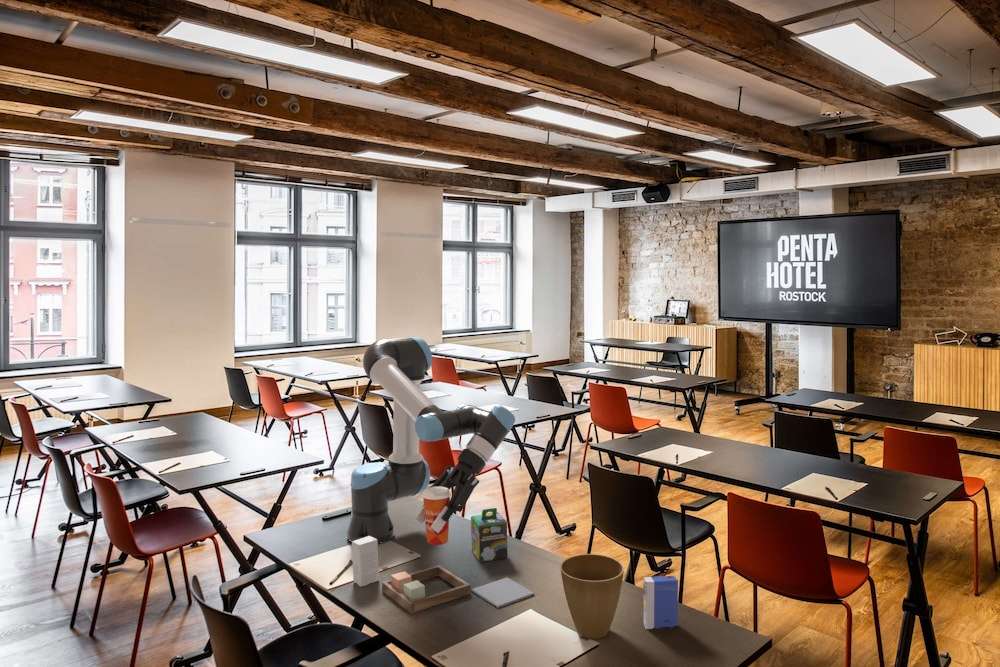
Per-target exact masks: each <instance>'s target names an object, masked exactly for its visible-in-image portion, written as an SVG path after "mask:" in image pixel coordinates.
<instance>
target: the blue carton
mask: <svg viewBox="0 0 1000 667" xmlns="http://www.w3.org/2000/svg"><path fill="white" fill-rule="evenodd" d="M642 587H643V591H642V593H643V625H644V628H645V629H646V630H651V629H652V630H653V628H656V629H662V628H661V627H670V628H675V627H674V626H678V624H679V623H678V622H679V621H678V620H679V617H678V615H679V614H678V613H679V612H678V610H679V608H678V607H679V604H678V601H679V600H678V599H679V580H678V579H677V578H676V576H675V575H671V574H665V576H664V575H662V576H661V575H660V576H647V577H643V586H642Z"/></svg>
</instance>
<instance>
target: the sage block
mask: <svg viewBox="0 0 1000 667" xmlns="http://www.w3.org/2000/svg"><path fill="white" fill-rule="evenodd" d="M404 596H406V597H407V598H408V599H410V600H411V601H412V602H413V601H416V600H419V599H422V598H425V597H426V587H425V585H424V584H423V583H421V581H418V580H416V581H413V582H409V583H406V584H404Z"/></svg>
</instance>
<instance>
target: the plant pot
mask: <svg viewBox="0 0 1000 667" xmlns="http://www.w3.org/2000/svg"><path fill="white" fill-rule="evenodd" d="M559 568H560V574H561V582H562V586H563V591H564V596H565V598H566V603H567V607H568V610H569V612H570V613H569V614H570V616H571V618H572V622H573V624H574V627H575V628H576V629H575V630H576V631H577V633H578V634H579V635H580V636H581V637H584V638H587V639H591V638H592V640H593V639H602V638H604V637H606V636H607V635H608V633H609V631H610V629H611V626H612V624H613V621H614V618H615V614H616V611H617V608H618V604H619V601H620V600H619V599H620V595H621V590H622V585H623V579H624V571H625V567H624V565H623V563H621V562H620V561H619V560H618V559H616V558H614V557H612V556H608V555H605V554H604V555H603V554H596V553H581V554H577V555H573V556H570V557H567V558H566V559H564V560H563V561H562V562H561V563H560V565H559Z"/></svg>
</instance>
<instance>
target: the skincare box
mask: <svg viewBox="0 0 1000 667" xmlns="http://www.w3.org/2000/svg"><path fill="white" fill-rule="evenodd" d="M351 556H352V557H351V558H352V575H353V576H352V581H354V582H355V583H357V584H358V585H357V584H356V585H357V586H358V587H360V586H361V588H363V587H365V586H369V585H370V583H371V584H373V583H376V582H378V581H380V572H379V571H380V570H379V544H378V540H377V539H375V538H373V537H371V536H367V537H364V538H361V539H358V540H355V541H352V543H351ZM354 582H353V583H354ZM355 583H354V584H355ZM362 586H363V587H362Z"/></svg>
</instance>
